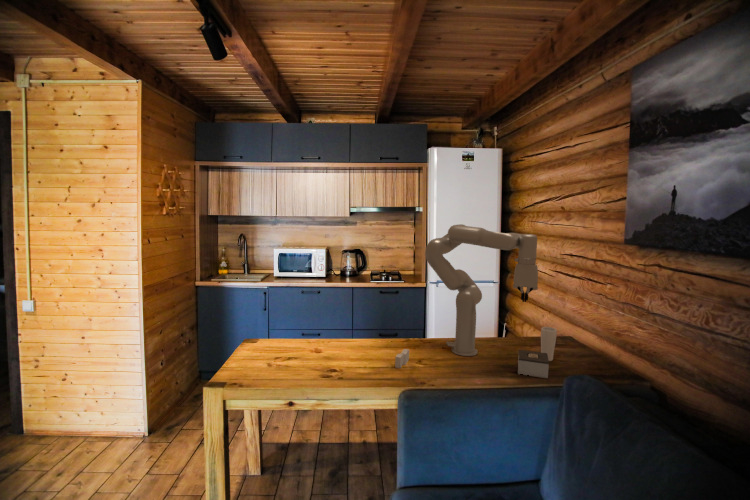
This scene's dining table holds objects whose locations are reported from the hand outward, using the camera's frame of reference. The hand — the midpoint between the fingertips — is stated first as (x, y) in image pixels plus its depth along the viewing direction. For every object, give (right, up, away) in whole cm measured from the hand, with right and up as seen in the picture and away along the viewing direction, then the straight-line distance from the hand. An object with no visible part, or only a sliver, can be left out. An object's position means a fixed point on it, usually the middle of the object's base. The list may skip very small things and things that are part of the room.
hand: (524, 301), depth 191 cm
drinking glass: (+14, -29, +9) cm, 33 cm away
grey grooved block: (-56, -29, -1) cm, 63 cm away
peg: (+1, -29, -6) cm, 29 cm away
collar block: (+1, -30, -6) cm, 31 cm away
